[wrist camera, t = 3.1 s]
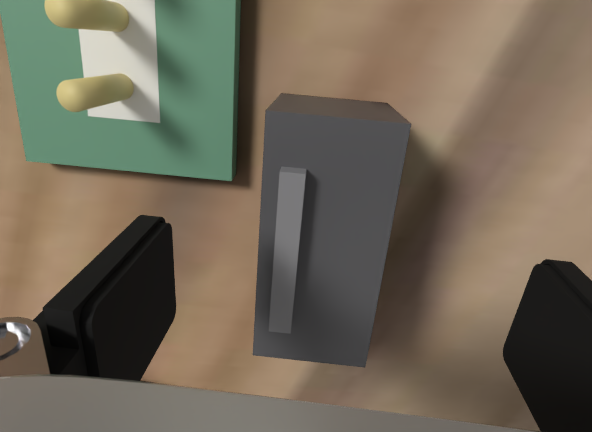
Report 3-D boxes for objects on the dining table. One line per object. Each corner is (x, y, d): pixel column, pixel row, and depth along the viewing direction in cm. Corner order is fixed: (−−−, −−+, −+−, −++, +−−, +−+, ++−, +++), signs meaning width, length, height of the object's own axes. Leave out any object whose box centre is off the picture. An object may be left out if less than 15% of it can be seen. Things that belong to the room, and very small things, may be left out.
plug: (355, 295, 21) (366, 379, 15) (268, 286, 21) (250, 366, 15) (387, 102, 17) (415, 127, 12) (281, 93, 17) (263, 113, 12)
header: (236, 174, 18) (210, 211, 14) (40, 155, 19) (-40, 186, 15) (245, -165, 14) (211, -256, 10) (-14, -185, 14) (-155, -282, 10)
